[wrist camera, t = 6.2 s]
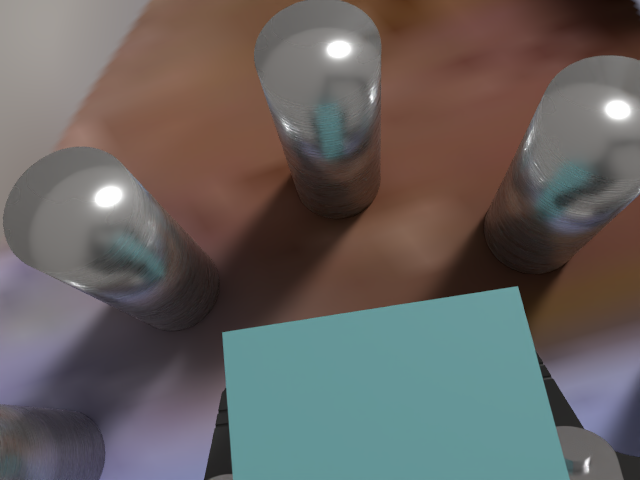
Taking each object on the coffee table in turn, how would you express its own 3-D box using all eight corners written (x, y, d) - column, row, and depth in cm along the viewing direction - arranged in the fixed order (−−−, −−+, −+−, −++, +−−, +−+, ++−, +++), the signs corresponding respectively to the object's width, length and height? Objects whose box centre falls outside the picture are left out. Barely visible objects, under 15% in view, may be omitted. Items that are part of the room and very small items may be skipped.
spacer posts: (653, 87, 20) (791, -89, 13) (785, 410, 16) (1073, 390, 9) (27, 194, 21) (-136, 80, 14) (10, 519, 17) (-225, 571, 10)
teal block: (441, 371, 17) (518, 286, 7) (471, 518, 15) (613, 642, 6) (310, 391, 17) (222, 332, 8) (328, 537, 16) (248, 688, 6)
